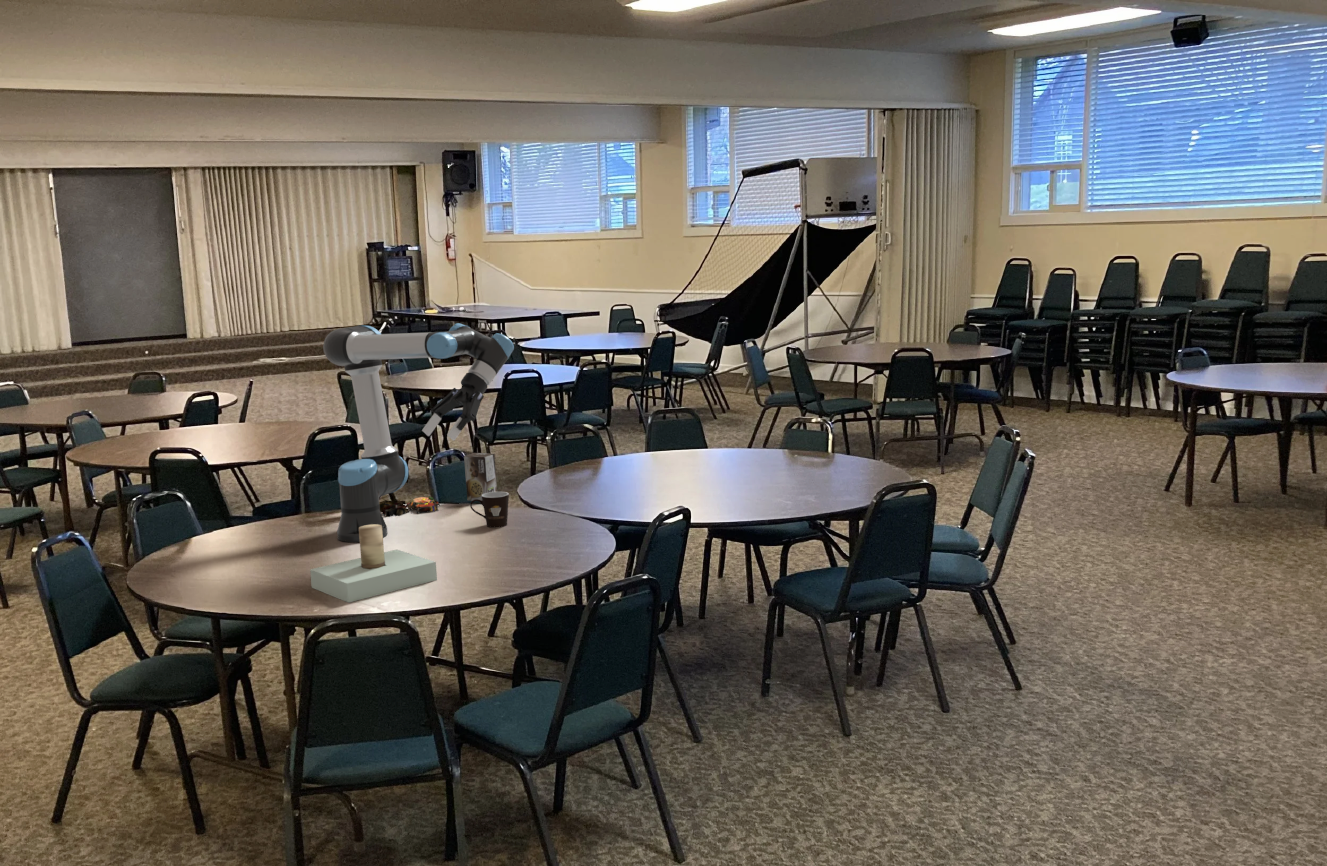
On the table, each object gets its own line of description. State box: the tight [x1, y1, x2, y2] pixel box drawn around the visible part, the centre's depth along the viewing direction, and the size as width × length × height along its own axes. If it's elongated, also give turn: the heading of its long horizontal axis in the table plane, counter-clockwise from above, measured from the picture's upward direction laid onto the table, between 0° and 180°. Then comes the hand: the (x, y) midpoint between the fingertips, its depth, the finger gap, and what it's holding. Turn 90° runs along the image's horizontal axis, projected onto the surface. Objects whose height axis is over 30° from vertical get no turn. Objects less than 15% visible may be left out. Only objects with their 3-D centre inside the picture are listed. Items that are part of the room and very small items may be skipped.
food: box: [379, 496, 441, 518], centre depth 397 cm, size 22×19×4 cm
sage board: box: [309, 549, 438, 603], centre depth 308 cm, size 20×26×5 cm
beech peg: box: [359, 524, 385, 569], centre depth 307 cm, size 6×6×15 cm
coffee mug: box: [469, 491, 510, 529], centre depth 369 cm, size 12×9×10 cm
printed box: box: [463, 452, 498, 502], centre depth 407 cm, size 9×6×16 cm
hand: (437, 435), depth 338 cm, fingers open, 13 cm apart
